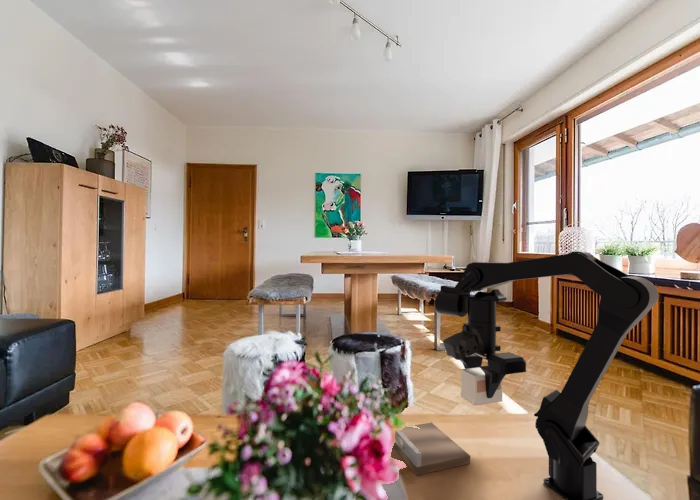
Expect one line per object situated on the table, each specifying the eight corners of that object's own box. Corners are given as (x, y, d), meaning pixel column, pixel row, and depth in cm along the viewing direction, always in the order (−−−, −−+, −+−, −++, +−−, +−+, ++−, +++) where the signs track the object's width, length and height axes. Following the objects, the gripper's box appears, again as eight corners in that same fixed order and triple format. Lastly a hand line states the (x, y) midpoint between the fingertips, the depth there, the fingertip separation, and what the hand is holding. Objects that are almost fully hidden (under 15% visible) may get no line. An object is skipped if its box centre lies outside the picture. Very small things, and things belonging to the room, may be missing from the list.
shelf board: (470, 463, 67) (470, 442, 67) (414, 475, 63) (415, 453, 63) (431, 428, 80) (431, 411, 80) (383, 437, 76) (383, 419, 76)
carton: (502, 401, 72) (502, 372, 72) (475, 405, 69) (475, 376, 69) (487, 393, 76) (487, 366, 76) (460, 396, 74) (461, 369, 74)
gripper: (425, 314, 79) (425, 381, 79) (480, 332, 62) (480, 418, 61) (465, 312, 83) (465, 376, 82) (528, 328, 65) (528, 410, 65)
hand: (481, 393), depth 73 cm, fingers closed on carton, 5 cm apart
